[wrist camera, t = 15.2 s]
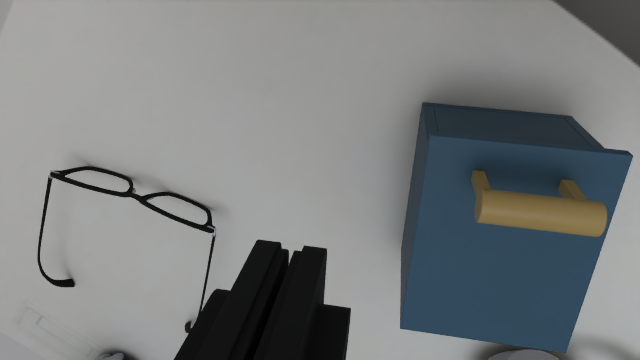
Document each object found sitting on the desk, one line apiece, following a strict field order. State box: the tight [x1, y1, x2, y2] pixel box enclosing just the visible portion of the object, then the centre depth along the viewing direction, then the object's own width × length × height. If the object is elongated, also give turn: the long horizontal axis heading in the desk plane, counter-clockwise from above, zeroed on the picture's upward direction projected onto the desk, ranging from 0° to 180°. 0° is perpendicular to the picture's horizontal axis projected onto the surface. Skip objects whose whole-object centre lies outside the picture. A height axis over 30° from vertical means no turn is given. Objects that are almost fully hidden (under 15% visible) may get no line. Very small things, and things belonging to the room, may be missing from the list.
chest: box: [400, 102, 605, 320], centre depth 36 cm, size 14×11×10 cm
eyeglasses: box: [38, 166, 216, 333], centre depth 47 cm, size 16×16×4 cm
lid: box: [400, 131, 633, 353], centre depth 29 cm, size 14×11×6 cm
